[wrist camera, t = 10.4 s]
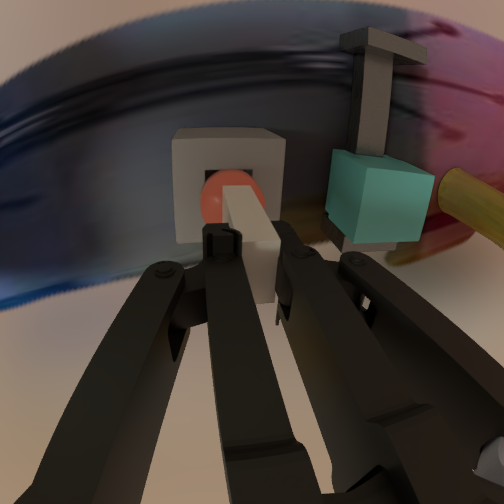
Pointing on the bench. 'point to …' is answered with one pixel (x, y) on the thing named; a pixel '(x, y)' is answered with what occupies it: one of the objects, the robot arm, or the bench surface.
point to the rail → (371, 105)
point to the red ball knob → (214, 192)
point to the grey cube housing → (219, 158)
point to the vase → (473, 204)
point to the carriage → (377, 198)
